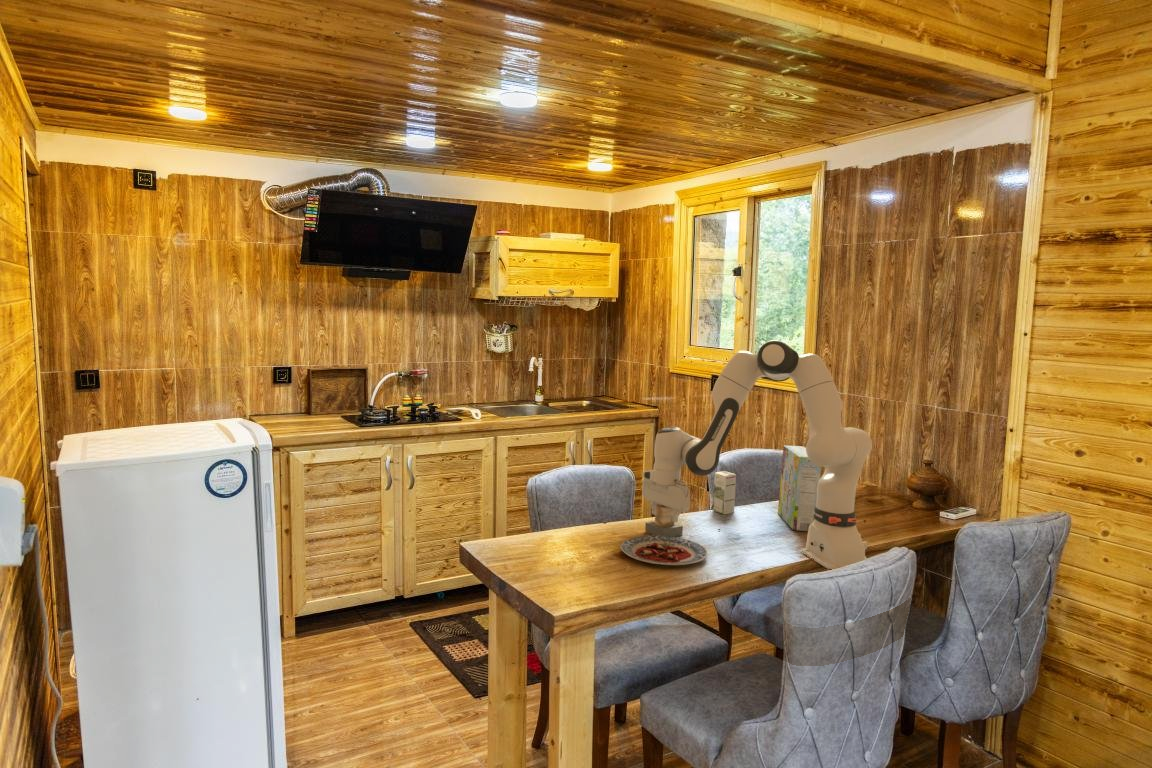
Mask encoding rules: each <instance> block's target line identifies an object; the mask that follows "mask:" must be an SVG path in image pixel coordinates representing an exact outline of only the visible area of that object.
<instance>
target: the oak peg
mask: <svg viewBox="0 0 1152 768" xmlns="http://www.w3.org/2000/svg"><path fill="white" fill-rule="evenodd" d="M656 505H657V506H656V511H655V515H654V521H655V525H658V526H660V527H662V528H665V527H670V526H674V522H672V521H671V516H673V515H674V513H675V512H673V509H672V508H669V507H667V506H664V505H661V504H659V505H658V504H656Z"/></svg>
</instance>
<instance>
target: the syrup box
mask: <svg viewBox="0 0 1152 768" xmlns="http://www.w3.org/2000/svg"><path fill="white" fill-rule="evenodd" d="M713 481H714V482H713V496H712V497H713V500H712V511H713V512H716V513H719V514H721V515H728V514H729V515H730V514H734V513H735V503H736V502H735V500H736V499H735V498H736V486H737V485H736V481H737V474H735V473H732V472H729V471H726V470H721V471H716V472H714V480H713Z"/></svg>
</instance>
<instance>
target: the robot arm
mask: <svg viewBox="0 0 1152 768" xmlns="http://www.w3.org/2000/svg"><path fill="white" fill-rule="evenodd" d="M759 379H762V380H767V381H772V382H785V381H787V380H789V379H791V381H793V383H794V384H795V387H796V389H797V392H798V395H799V397H800V400H801V402H802V405H803V408H804V411H805V414H806V417H807V423H808V430H809V431H808V432H809V434H808V440H807V442H806V444H805V445H806V446H805V448H806V453H807V456H808V458H809V459H810V461H811V462H812V463H814V464H815V465H818V466H822V467H823V468H825V470H824V473H822V475H821V476H820V479H819V482H818V488H817V501H816V506H815V508H814V521H813V523H812V524H811V525H810V526H809V529H808V531H807V537H806V544H805V547H803V548H802V549H801V551H800V553H801V552H803V553H805V554H806V555H808V556H810V557H812V558H813V559H814V560H813V559H812V560H813V561H814V562H816V563H818V564H819V565H821V566H823V568H826V569H828V570H832V569H835V568H839V567H843V566H846V565H849V564H852V563H856V562H859V561H862V560H864V559H868V558H867V556H866V550H867V549H868V542H867V541H863V539H862V534H861V533H859V531H858V528H857V515H856V511H855V501H856V492H857V486H858V481H859V478H860V476H861V473H862V469H863V466H864V464H865V461H866V459H867V458H868V456H870V454H871V452H872V449H873V441H872V438H871V436H870V435H869V433H867V431H865V430H864V429H861V428H857V427H850V426H849V427H843V423H842V410H843V409H844V403H843V401H842V399H841V396H840V392H839V391H838V389H837V386H836V383H835V381H834V379H833V377H832V374H831V372H830V369H829V368H828V366H827V365H826V363H825V362H824V360H823V359H822V357H821V356H819V355H818V354H815V353H806V354H802V355H799V353H798V352H797V351H796V350H795V349H793V348H792V347H791V346H790V345H788V344H787V343H785V342H783V341H781V340H776V339H775V340H774V339H773V340H770V341H769V340H768V341H766V342H765V343H763V344H762V345H761V346H760V348H759V349H758V352H757V354H755V353H753V352H750V351H747V350H739V351H737V352H736V353H735V354H734V355H733V356H732V357H731V359H729V361H728V362H727V363H726V364H725V366H724V368H722V370H721V373H720V374H719V375H718V378H717V379H716V381H715V383H714V386H713V388H712V392H711V396H712V397H711V398H712V401H713V405H714V414H713V417H712V419H711V421H710V423H709V426H708V428H707V429H706V430H705V433H704V435H703V437H702V438H699V437H696V436H693V435H691V434H689V433H687V432H685V431H684V430H682V429H681V428H680V427H677V426H667V427H663V428H661V429H659V430H658V431H657V433H656V436H655V442H654V449H653V452H654V453H653V456H654V464H653V469H651V470H650V469H649V470H643V472H642V478H643V480H642V485H641V486H642V487H641V495H642V497H643V499H645V500H647V501H649V504H650V505H649V506H650V508H651V515H654V516H655V511H656V506H657V505H658V504H659V505H664V506H667V507H669V508H672V509H673V512H675V513H674V515H673V516H671V521H672V522H674V523H678V522H679V517H680V515H681V513H682V512H688V511H689V510H690V509H691V495H690V494H691V493H690V488H689V485H687V483H686V482H683V481H681V475H682V474H681V473H682V472H681V471H682V468H681V467H684V466H686V467H687V468H688V469H689V471H690V472H691V473H692V474H694V475H696V476H701V477H702V476H708V475H710V474H712V473H713V472H714V471H715V470H716V469H717V467H718V465H719V461H720V455H721V451H722V447H723V445H724V443H725V441H726V439H727V436H729V433H730V430H731V428H732V427H733V425H734V423H735V421H736V419H737V416H738V414H739V413H740V410H741V408H742V407H743V405H744V403H745V401H746V399H747V397H748V396H749V394H750V392H751V390H752V389H753V387H754V385H755V384H756V382H758V380H759ZM803 553H802V554H803ZM806 555H805V556H806ZM808 556H807V557H808Z"/></svg>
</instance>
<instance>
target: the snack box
mask: <svg viewBox="0 0 1152 768" xmlns="http://www.w3.org/2000/svg"><path fill="white" fill-rule="evenodd" d="M822 467H823V466H818V465H815V464H814V463H812V462H811V461H810V459H809V458H808V456H807V453H806V446H800V445H785V444H784V445H783V449H782V461H781V473H780V483H779V485H780V486H779V495H778V496H779V498H778V507H777V508H778V509H777V514H778V515H779V516H780V517H781V519H783V521H784V522H785V523H786V524H787V525H788V526H789V528H790V529H791V530H792V531H800V532H808V529H809V526H810V525H811V524H812V523H813V521H814V508H815V506H816V501H817V488H818V482H819V479H820V478H821V477H822V475H821V474H822Z"/></svg>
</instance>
